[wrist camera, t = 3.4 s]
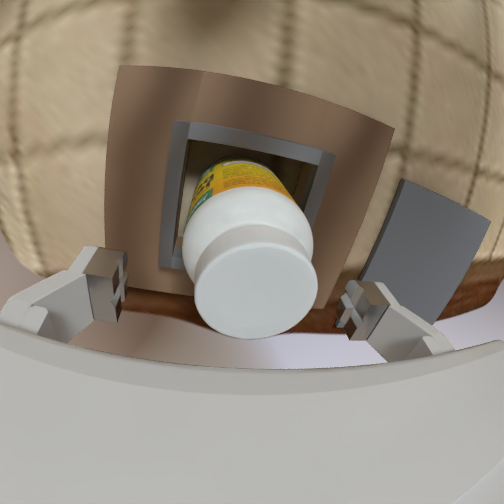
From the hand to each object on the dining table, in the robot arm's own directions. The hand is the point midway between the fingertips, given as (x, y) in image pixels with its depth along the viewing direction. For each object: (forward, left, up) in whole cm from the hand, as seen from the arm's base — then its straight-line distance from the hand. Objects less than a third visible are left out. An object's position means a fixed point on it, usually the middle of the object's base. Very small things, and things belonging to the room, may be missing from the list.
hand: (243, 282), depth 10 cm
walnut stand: (0, 0, -9) cm, 9 cm away
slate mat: (-18, +3, -9) cm, 20 cm away
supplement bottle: (0, 0, -9) cm, 9 cm away
